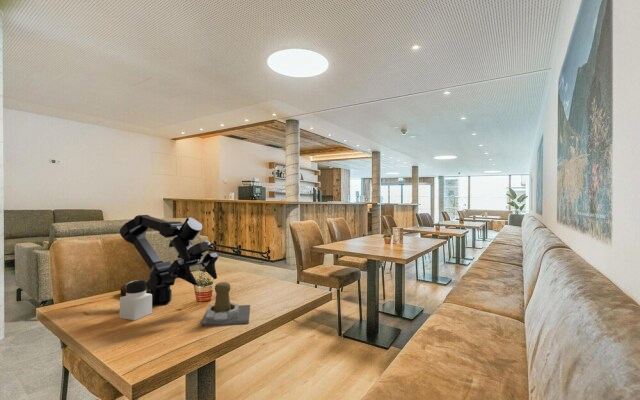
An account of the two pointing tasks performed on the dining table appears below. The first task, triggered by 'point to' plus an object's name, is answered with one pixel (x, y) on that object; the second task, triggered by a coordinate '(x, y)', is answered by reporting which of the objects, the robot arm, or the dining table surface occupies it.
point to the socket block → (227, 315)
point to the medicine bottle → (135, 301)
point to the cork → (222, 297)
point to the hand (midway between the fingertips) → (206, 281)
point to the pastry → (123, 289)
